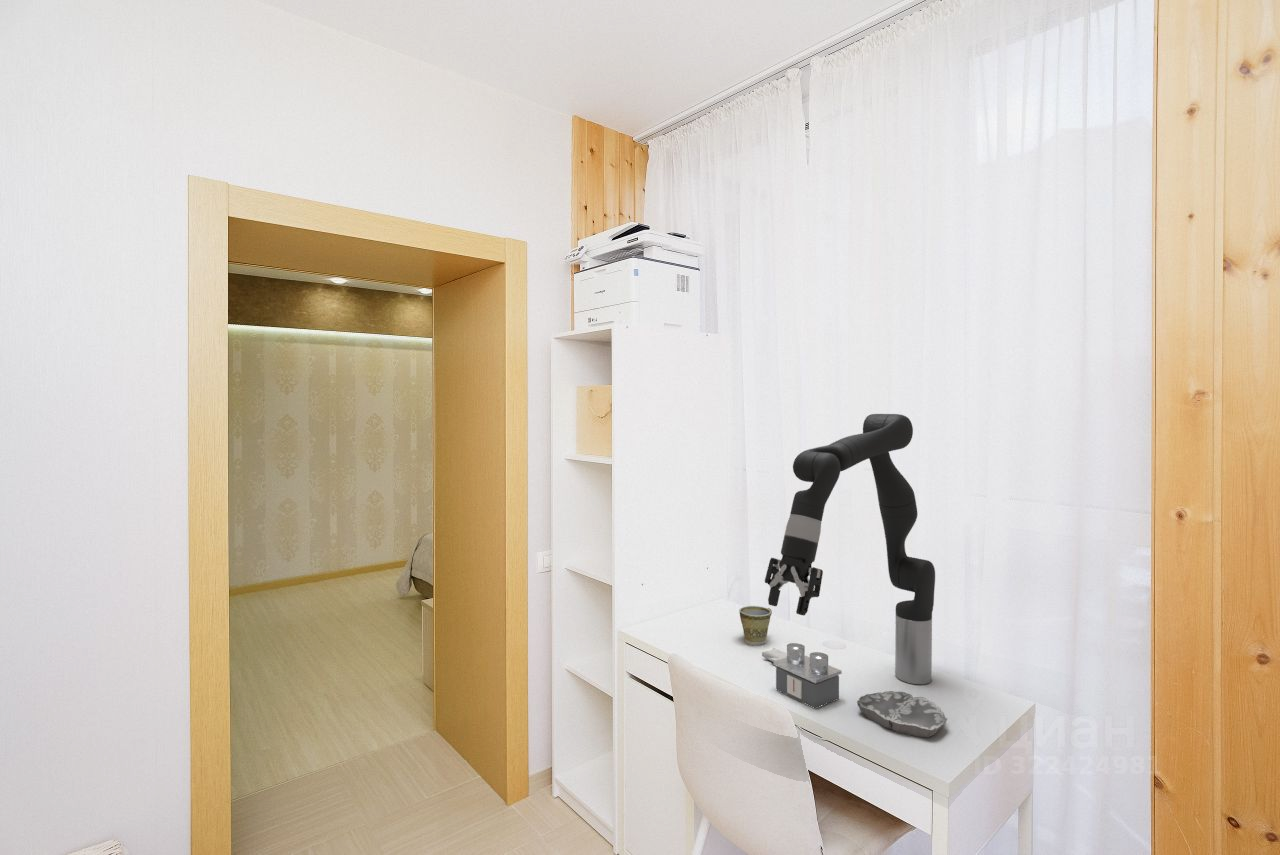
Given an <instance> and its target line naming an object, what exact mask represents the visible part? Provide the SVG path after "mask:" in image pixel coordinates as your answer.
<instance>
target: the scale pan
mask: <svg viewBox="0 0 1280 855" xmlns="http://www.w3.org/2000/svg"><path fill="white" fill-rule="evenodd" d="M773 666H776V667H780V668H782V669H784V670H787V671H789V672H791V673H793V674H795V675H798V676H800V677H802V678H804V679H807V680H809V681H811V682H813V683H815V684H816V683H819V682H821V681H824V680H827V679H829V678H832V677H834V676H837V675H838V676H840V675H841V674H843V673H842V672H843V671H842V670H841V669H838V668H837V667H835V666H834V667H833V666H832V665H829V664H828V673H827V674H825V675H817V674H813V673H811V672H810V670H809V666H810V656H806V655H805V663H804V664H801V665H794V664H790V663H788V662H787V657H786V658H783V659H780V660H777V661H774V662H773Z"/></svg>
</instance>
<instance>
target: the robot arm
mask: <svg viewBox="0 0 1280 855" xmlns="http://www.w3.org/2000/svg"><path fill="white" fill-rule="evenodd" d="M862 424H863V425H862V433H858V434H852V435H848V436H845V437H843V438H840V439H838V440H835V441H834V442H832V443H830V444H828V445H821V446H818V447H813V448H809V449H807V450H803V451H802V452H800V453H798V455H796V457H795V458H794V460H793V462H792V470H793V474H794V475H795V477H796V478H797V479H798V480H800V481H802V482H806V483H811V486H810V487H809V488H806V489H804V490H799V491H796V492H795V494H794V496H793V500H792V504H791V510H790V514H789V518H788V519H787V523H786V526H785V532H784V536H783V540H782V544H781V549H780V554H781V555H782V556H781V559H778V558H776V557H770V559H769V563H768V566H767V571H766V575H765V577H764V583H766V584H767V585H768V586H769V587H770V589H769V594H768V598H767V604H768V605H769V606H772V607H777V606H778V603H779V598H780V594H781V590H780V589H782V587H783V586H784V585H785V584H788V582H789V583H793V584H795V586H796V587H797V588H798V590H799V594H800V596H799V597H798V601H797V602H798V603H797V606H796V610H795V611H796V614H797V615H800V616H806V615H807V613H808V611H809V606H810V601H811V599H812V598H819V597H820V592H821V586H822V582H823V581H822V579H823V574H824V572H823V569H820V568H818V567H812V563H814V562H815V560H816V556H817V551H818V546H819V541H820V536H821V531H822V530H821V528H822V522H823V516H824V512H825V507H826V504H827V502H828V500H829V498H830V496H831V494H832V492H833V490H834V488H835V486H836V485H837V483H838V480H839V478H840V476H841V472H843V471H846V470H848V469H850V468H852V467H854V466H856V465H858V464H859V463H862V462H864V461H866V460H869V463H870V465H871V469H872V473H873V477H874V483H875V488H876V494H877V500H878V505H879V511H880V517H881V521H882V525H883V530H884V537H885V545H886V556H887V569H888V575H889V579H890V580H889V581H890V583H891V584H892V586H893V587H894V588H897V589H899V590H904V591H907V592H912V593H914V596H913V599H911V600H903V601H899V602H897V603H896V606H895V620H894V622H895V623H894V624H895V628H894V629H895V642H894V643H895V652H894V653H895V658H894V660H895V662H894V666H895V667H894V669H895V670H894V672H895V673H894V676H895V677H896V678H897V679H898V680H899V681H902V682H905V683H908V684H913V685H927V684H930V683H932V675H933V674H932V673H933V672H932V669H933V668H932V667H933V664H932V663H933V662H932V660H933V656H932V655H933V654H932V653H933V648H932V647H933V611H934V604H935V603H934V602H935V588H936V586H935V585H936V569H935V566H934V564H933V562H932V561H931V560H927V559H921V558H918V557H912V556H908V555H907V553H906V546H905V544H906V543H905V542H906V540H907V537H908V535H909V534H910V532H911V530H912V529H913V527H914V526H915V524H916V521H917V518H918V507H917V502H916V501H917V500H916V495H915V492H914V489H913V487H912V486H911V485H910V483H909V482H908V480H907V478H905V477H904V475H902V473H901V472H900V471H899V469H898V468H897V467H896V465H895V464H894V462H893V460H892V458H891V455H890V452H894V451H897V450H901V449H904V448H906V447H907V446H908V445H910V443H911V441H912V438H913V433H914V427H913V423H912V422H911V420H910V419H909V417H907V416H906V415H903V414H899V413H871V414H869V415H867V416H866V417H865V419H864V421H863V423H862Z"/></svg>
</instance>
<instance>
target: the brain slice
mask: <svg viewBox="0 0 1280 855" xmlns="http://www.w3.org/2000/svg"><path fill="white" fill-rule="evenodd" d="M856 703H857V707H858V708H859V710H860V712H861V713H863V715H864V716H865V717H866V718H867V717H868V718H867V719H869V718H870V720H871V719H872V721H874V722H875V723H877V724H879V725H880V726H882V727H884V728H887V729H889V730H893V732H896V733H899V734H903V735H906V734H907V735H909V736H912V737H917V738H919V737H920V738H930V737H931V736H933V735H935V734H936V733H937V732H938V731H939V730H941V728H942V727H943V726H944V725H945V724H946V722H947V721H948V718H947V717H946V716H945V713H944V712H943V711H942V710H941V708H940V707H939V706H937V704H936V703H935V702H934V701H932V700H929V699H928V698H926V697H921V696H915V697H914V696H913V695H912V694H910V693H907V692H904V691H884V692H882V691H881V692H875V693H867V694H865V695H862V696H860V697H859V698H858V700H857V701H856Z"/></svg>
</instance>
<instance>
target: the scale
mask: <svg viewBox="0 0 1280 855" xmlns="http://www.w3.org/2000/svg"><path fill="white" fill-rule="evenodd" d="M775 687H776V688H775V690H776V689H777V690H776V691H778V690H779V691H778V692H780V691H781V692H780V693H782V692H783V693H782V694H784V693H785V694H784V695H786V694H787V695H786V696H788V695H789V696H788V697H790V696H791V698H792V697H793V698H792V699H794V698H795V699H794V700H796V699H797V700H796V701H798V700H799V701H798V702H800V701H801V702H800V703H802V702H803V704H804V703H806V704H805V705H807V704H808V705H807V706H809V705H810V706H809V707H811V706H812V707H811V708H813V707H814V708H813V709H815V708H816V707H818V708H820V707H822V706H821V705H823V706H824V704H825V705H827V704H826V703H828V704H830V703H832V702H834V700H835V701H837V700H839V699H840V675H837V676H834V677H832V678H829V679H827V680H824V681H821V682H819V683H816V684H815V683H813V682H811V681H809V680H807V679H804V678H802V677H800V676H798V675H795V674H793V673H791V672H789V671H787V670H784V669H782V668H780V667H778V666H776V667H775ZM836 699H837V700H836ZM831 701H832V702H831ZM829 702H830V703H829ZM819 706H820V707H819ZM816 709H817V708H816Z"/></svg>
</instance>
